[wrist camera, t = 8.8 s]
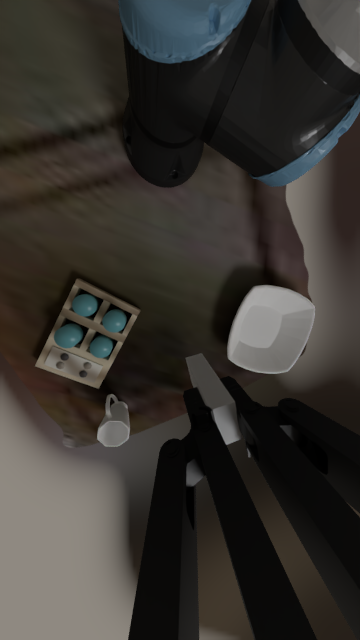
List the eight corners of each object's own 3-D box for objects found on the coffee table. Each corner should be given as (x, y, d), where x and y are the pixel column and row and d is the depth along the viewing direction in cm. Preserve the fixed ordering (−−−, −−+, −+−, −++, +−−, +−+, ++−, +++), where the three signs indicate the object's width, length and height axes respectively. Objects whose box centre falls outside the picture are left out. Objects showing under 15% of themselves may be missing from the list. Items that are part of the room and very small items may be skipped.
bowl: (238, 275, 44) (250, 275, 39) (306, 299, 49) (325, 301, 44) (211, 355, 48) (218, 364, 43) (277, 369, 53) (291, 379, 48)
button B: (111, 305, 39) (108, 307, 36) (130, 314, 40) (128, 317, 37) (102, 323, 39) (98, 326, 36) (121, 331, 40) (119, 336, 37)
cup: (109, 423, 47) (101, 451, 39) (97, 390, 45) (86, 414, 37) (136, 415, 48) (134, 441, 40) (125, 383, 45) (121, 404, 38)
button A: (82, 289, 38) (77, 290, 36) (102, 299, 40) (99, 301, 37) (74, 307, 39) (68, 310, 36) (94, 317, 40) (90, 320, 37)
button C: (66, 319, 38) (59, 323, 35) (86, 329, 39) (82, 333, 36) (57, 337, 38) (50, 342, 35) (78, 346, 39) (72, 351, 36)
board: (80, 278, 38) (75, 278, 36) (140, 309, 42) (140, 311, 40) (40, 361, 41) (33, 367, 38) (100, 384, 44) (98, 390, 42)
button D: (98, 331, 41) (95, 335, 38) (117, 339, 42) (114, 344, 39) (90, 347, 41) (86, 353, 39) (108, 355, 43) (105, 361, 40)
